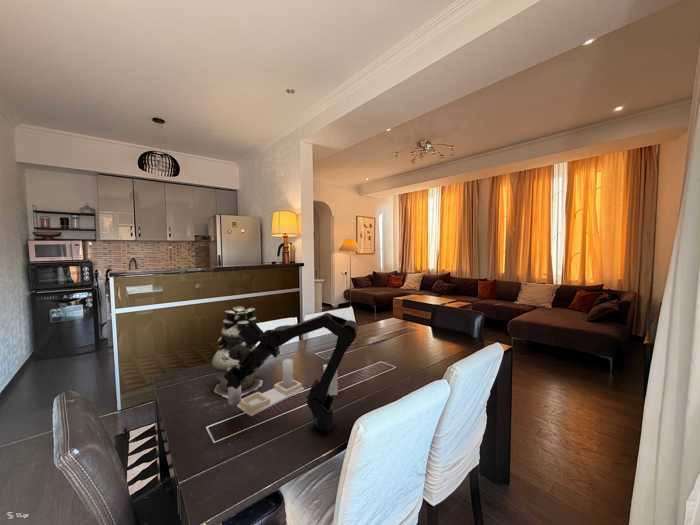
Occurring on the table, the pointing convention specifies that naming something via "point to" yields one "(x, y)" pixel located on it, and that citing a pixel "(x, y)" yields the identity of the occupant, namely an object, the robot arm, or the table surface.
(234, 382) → the robot arm
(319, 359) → the table surface
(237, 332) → the decorative urn
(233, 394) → the clear drinking glass
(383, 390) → the table surface
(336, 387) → the skincare box
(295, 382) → the white oblong stand
